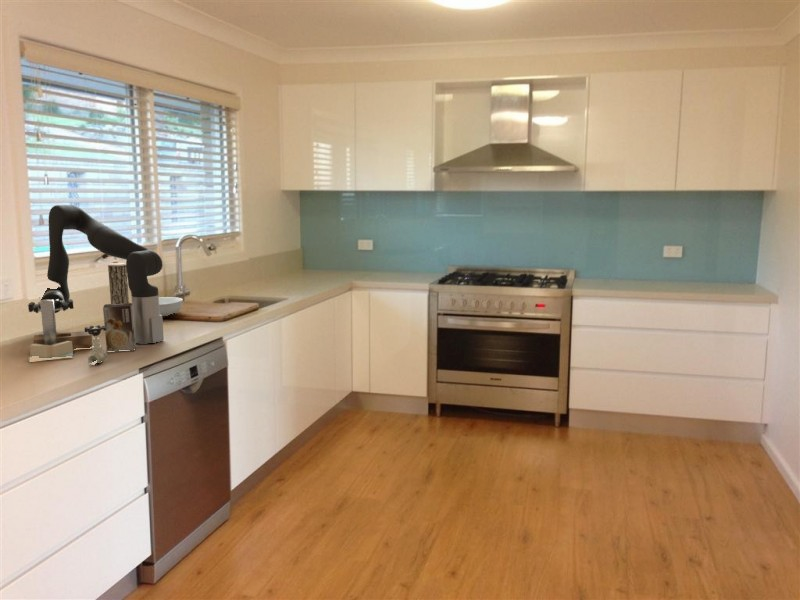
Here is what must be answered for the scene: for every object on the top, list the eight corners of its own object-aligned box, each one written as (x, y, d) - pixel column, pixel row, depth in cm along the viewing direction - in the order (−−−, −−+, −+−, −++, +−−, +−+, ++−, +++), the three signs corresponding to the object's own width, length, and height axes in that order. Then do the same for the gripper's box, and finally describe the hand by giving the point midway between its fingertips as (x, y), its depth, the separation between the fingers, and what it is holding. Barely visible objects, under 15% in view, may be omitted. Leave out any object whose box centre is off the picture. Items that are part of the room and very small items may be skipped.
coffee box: (136, 347, 242) (133, 302, 239) (134, 351, 235) (131, 305, 233) (108, 348, 239) (104, 303, 236) (106, 353, 233) (102, 307, 230)
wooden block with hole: (92, 344, 246) (91, 330, 245) (92, 349, 239) (91, 335, 238) (36, 349, 238) (34, 335, 238) (34, 354, 231) (33, 340, 230)
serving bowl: (191, 311, 306) (190, 296, 305) (171, 321, 285) (170, 305, 284) (147, 311, 308) (146, 296, 307) (124, 320, 287) (122, 304, 286)
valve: (112, 360, 223) (109, 325, 221) (104, 366, 217) (101, 329, 215) (91, 361, 223) (88, 325, 221) (83, 366, 216) (80, 329, 214)
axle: (61, 351, 231) (56, 299, 227) (51, 354, 227) (46, 301, 224) (51, 351, 232) (46, 299, 229) (42, 353, 228) (37, 301, 225)
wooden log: (111, 326, 275) (106, 265, 270) (113, 323, 281) (109, 263, 277) (129, 325, 276) (125, 264, 272) (131, 322, 283) (127, 262, 278)
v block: (31, 355, 230) (29, 342, 229) (73, 351, 235) (72, 338, 234) (28, 362, 221) (27, 349, 220) (73, 358, 226) (72, 345, 225)
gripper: (29, 293, 248) (26, 300, 233) (73, 290, 254) (72, 296, 239) (31, 313, 249) (28, 321, 235) (74, 310, 255) (74, 317, 240)
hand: (50, 309), depth 237 cm, fingers open, 8 cm apart
